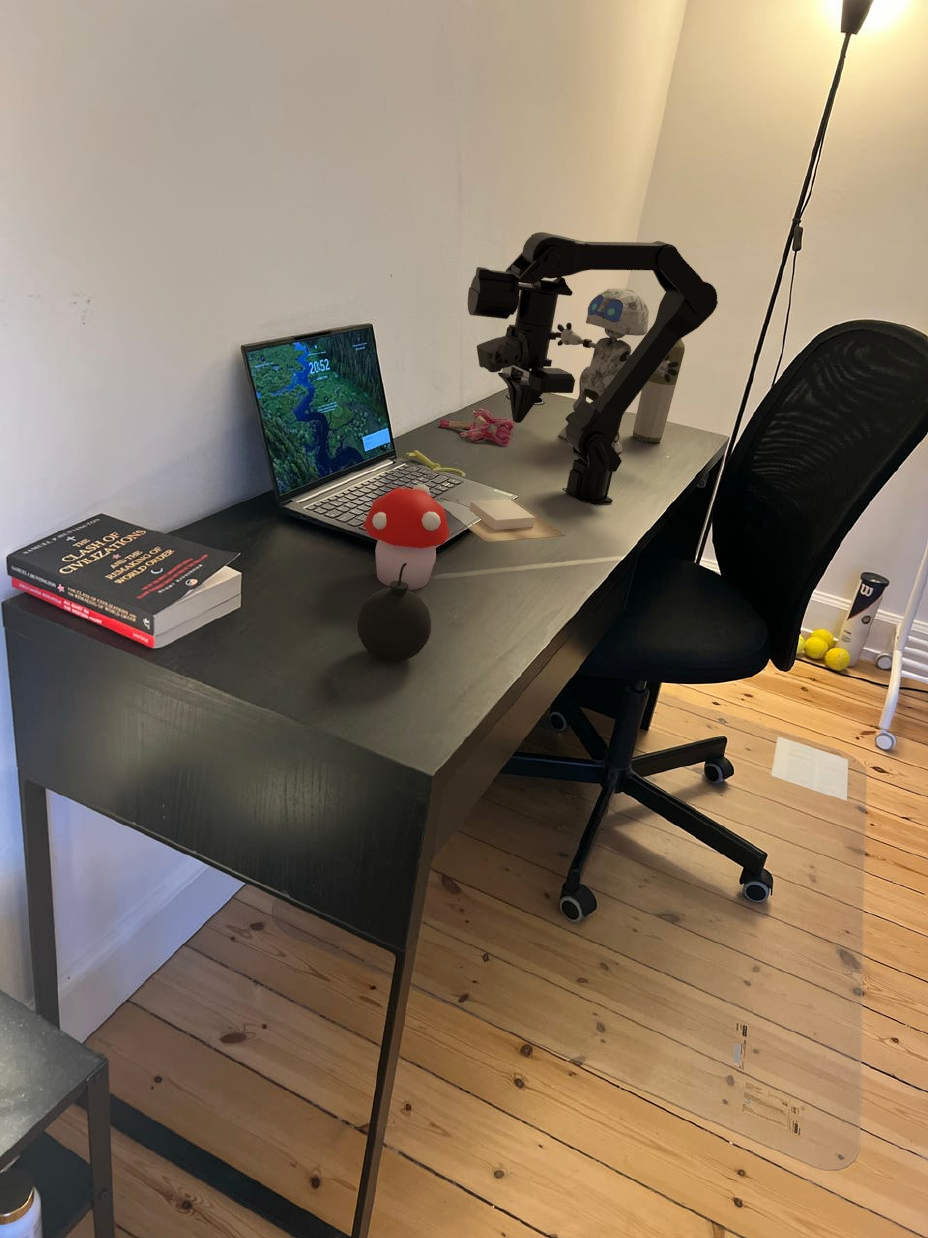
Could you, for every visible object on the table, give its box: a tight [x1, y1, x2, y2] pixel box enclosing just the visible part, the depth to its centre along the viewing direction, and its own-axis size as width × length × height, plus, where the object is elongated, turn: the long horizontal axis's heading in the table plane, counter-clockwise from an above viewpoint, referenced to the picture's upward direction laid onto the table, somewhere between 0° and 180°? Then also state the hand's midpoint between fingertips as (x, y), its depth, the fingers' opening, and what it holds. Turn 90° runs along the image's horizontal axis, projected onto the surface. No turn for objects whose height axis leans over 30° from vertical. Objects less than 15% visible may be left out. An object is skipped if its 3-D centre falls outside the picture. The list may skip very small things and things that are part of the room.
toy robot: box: [555, 287, 679, 455], centre depth 185 cm, size 31×12×30 cm, turn 42°
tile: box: [469, 499, 535, 530], centre depth 143 cm, size 7×2×8 cm
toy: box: [439, 408, 515, 447], centre depth 183 cm, size 7×6×15 cm
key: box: [405, 449, 466, 477], centre depth 161 cm, size 7×12×2 cm, turn 55°
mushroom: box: [363, 483, 451, 591], centre depth 119 cm, size 11×11×12 cm
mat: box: [468, 497, 567, 543], centre depth 144 cm, size 14×16×1 cm
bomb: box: [356, 563, 432, 663], centre depth 100 cm, size 8×8×12 cm
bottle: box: [632, 338, 686, 443], centre depth 194 cm, size 7×7×30 cm
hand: (516, 422), depth 151 cm, fingers closed
